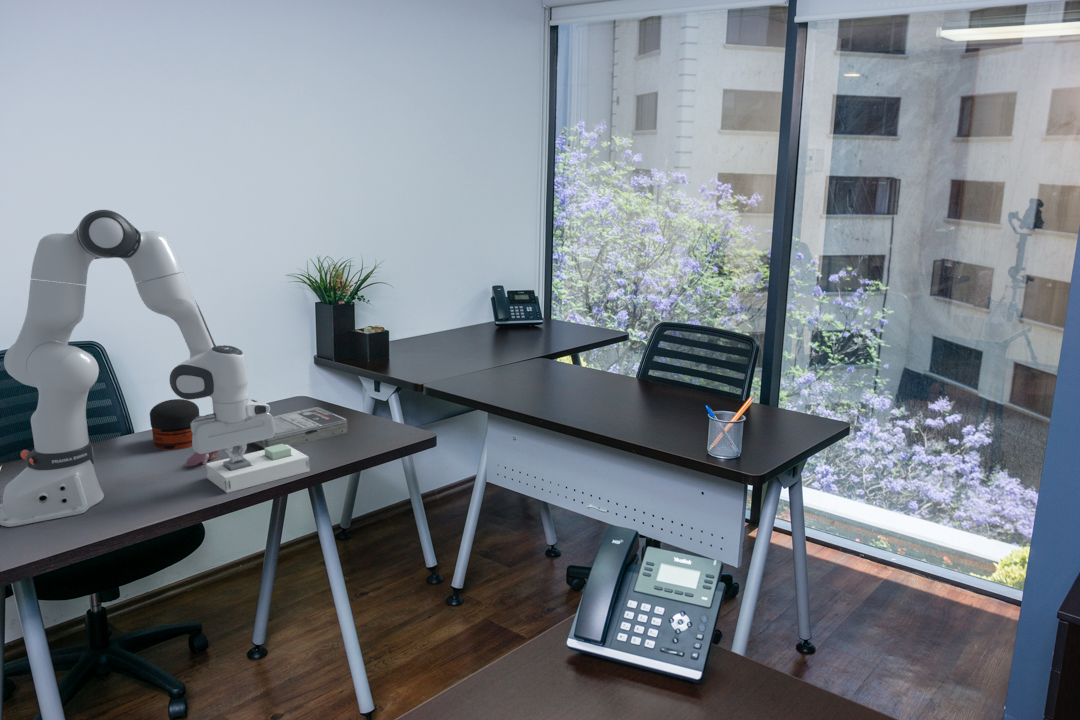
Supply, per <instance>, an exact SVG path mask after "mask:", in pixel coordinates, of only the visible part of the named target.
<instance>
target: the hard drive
mask: <svg viewBox="0 0 1080 720" xmlns="http://www.w3.org/2000/svg"><path fill="white" fill-rule="evenodd" d="M272 417H273V420H274V425H275V435H274V436H273V438H269V439H265V440H261V441H256V442H252V443H248V444H247V446H248V445H249V446H250V447H252V448H254V449H256V450H257V451H261V450H264V448H266V447H270V446H274V445H279V444H284V445H289V446H290V447H292V448H293V447H295V445H296V446H299V445H303V444H307V443H312V442H315V441H318V440H319V441H320V440H323V439H327V438H331V437H336V436H340V435H343V434H347V433H348V432H349V431H348V418H345V417H343V416H341V415H338V414H336V413H333V412H331V411H329V410H327V409H325V408H323V407H320V406H319V407H318V406H317V407H315V406H314V407H310V408H306V409H302V410H297V411H292V412H288V413H283V414H278V415H275V416H273V415H272Z"/></svg>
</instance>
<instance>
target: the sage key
mask: <svg viewBox="0 0 1080 720" xmlns="http://www.w3.org/2000/svg"><path fill="white" fill-rule="evenodd" d="M264 450H265V457H267V458H269V459H270V460H272V461H274V460H278V459H282V458H286V457H290V456H291V448H289V447H287V446H286V445H284V444H279V445H274V446H270V447H266V448H264Z"/></svg>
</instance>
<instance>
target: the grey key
mask: <svg viewBox="0 0 1080 720" xmlns="http://www.w3.org/2000/svg"><path fill="white" fill-rule="evenodd" d="M223 465H224V467H225V468H226V469H228V470H229V471H233V470H237V469H241V468H245V467H249V466H251V464H250V462H249V461H248V460H246V459H245V458H244V460H243V461H240V462H236V463H231V462H230V460H228V461H224V462H223Z"/></svg>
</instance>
